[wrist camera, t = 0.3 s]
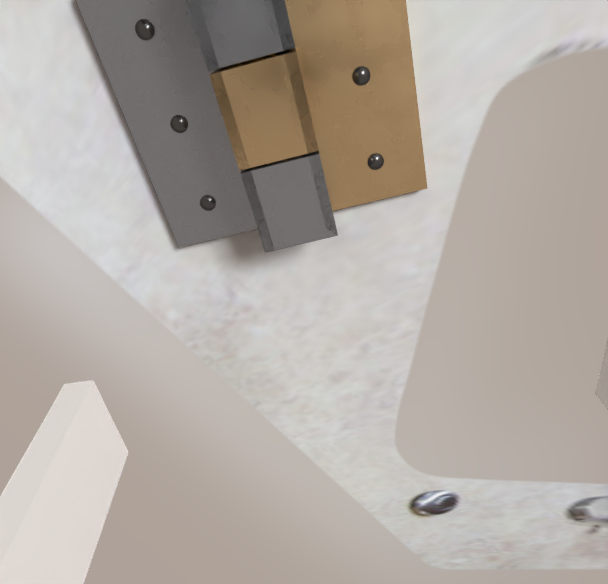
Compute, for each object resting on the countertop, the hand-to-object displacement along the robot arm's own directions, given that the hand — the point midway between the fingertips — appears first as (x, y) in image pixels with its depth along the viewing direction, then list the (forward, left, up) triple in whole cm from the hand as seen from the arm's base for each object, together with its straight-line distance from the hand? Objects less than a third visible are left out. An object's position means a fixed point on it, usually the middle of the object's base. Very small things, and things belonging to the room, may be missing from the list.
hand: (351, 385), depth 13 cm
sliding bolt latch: (-3, -2, -27) cm, 27 cm away
